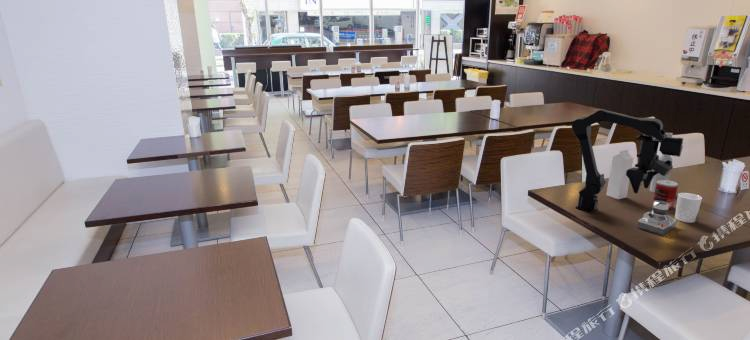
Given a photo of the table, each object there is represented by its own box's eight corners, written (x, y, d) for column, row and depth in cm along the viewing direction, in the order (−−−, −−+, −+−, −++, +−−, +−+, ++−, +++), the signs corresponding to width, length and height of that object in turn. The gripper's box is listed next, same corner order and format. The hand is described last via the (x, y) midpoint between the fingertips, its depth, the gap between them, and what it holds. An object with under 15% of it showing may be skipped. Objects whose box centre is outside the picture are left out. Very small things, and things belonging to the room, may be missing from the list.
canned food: (671, 204, 191) (676, 180, 188) (674, 211, 184) (679, 186, 181) (651, 202, 194) (655, 178, 191) (653, 208, 188) (658, 184, 184)
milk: (606, 195, 203) (613, 149, 196) (614, 193, 205) (622, 147, 199) (618, 199, 197) (626, 152, 191) (627, 197, 200) (635, 150, 193)
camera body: (636, 227, 169) (639, 216, 168) (650, 219, 176) (652, 209, 175) (662, 235, 163) (665, 224, 161) (675, 226, 170) (677, 216, 168)
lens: (656, 222, 166) (660, 205, 164) (646, 217, 171) (650, 200, 169) (669, 222, 166) (673, 204, 164) (659, 216, 171) (662, 199, 169)
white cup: (700, 224, 172) (706, 200, 169) (678, 222, 174) (683, 198, 171) (690, 216, 179) (696, 193, 176) (669, 214, 181) (674, 192, 178)
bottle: (662, 194, 203) (675, 135, 195) (647, 191, 208) (658, 133, 199) (668, 191, 207) (680, 133, 198) (652, 188, 212) (664, 131, 203)
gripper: (661, 161, 156) (653, 201, 161) (681, 152, 167) (673, 191, 172) (628, 154, 165) (621, 193, 169) (649, 146, 176) (642, 183, 180)
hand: (640, 190), depth 172 cm, fingers open, 9 cm apart
